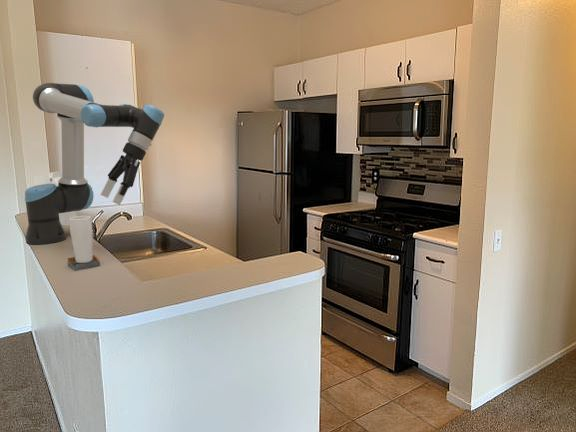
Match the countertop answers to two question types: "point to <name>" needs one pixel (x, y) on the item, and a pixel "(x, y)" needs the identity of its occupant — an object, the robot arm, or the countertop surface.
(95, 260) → the square coaster
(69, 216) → the milk
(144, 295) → the countertop surface
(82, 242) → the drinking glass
